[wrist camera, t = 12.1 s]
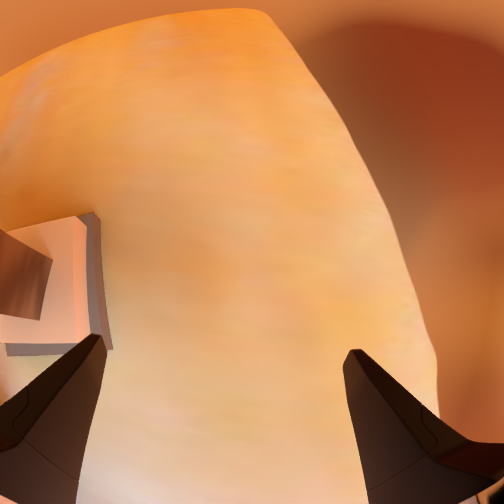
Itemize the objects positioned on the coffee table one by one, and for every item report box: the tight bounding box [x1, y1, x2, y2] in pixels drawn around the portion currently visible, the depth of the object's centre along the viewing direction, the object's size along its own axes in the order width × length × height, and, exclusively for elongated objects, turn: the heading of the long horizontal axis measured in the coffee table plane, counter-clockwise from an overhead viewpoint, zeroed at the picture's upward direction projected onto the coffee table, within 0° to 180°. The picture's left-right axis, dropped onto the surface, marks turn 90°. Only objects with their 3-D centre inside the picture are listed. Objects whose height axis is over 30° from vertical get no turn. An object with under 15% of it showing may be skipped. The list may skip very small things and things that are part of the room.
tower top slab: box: [0, 216, 91, 344], centre depth 18 cm, size 10×10×2 cm
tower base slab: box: [5, 213, 113, 356], centre depth 21 cm, size 12×12×2 cm
